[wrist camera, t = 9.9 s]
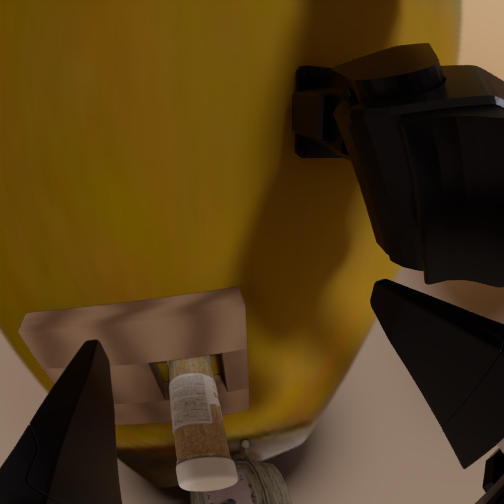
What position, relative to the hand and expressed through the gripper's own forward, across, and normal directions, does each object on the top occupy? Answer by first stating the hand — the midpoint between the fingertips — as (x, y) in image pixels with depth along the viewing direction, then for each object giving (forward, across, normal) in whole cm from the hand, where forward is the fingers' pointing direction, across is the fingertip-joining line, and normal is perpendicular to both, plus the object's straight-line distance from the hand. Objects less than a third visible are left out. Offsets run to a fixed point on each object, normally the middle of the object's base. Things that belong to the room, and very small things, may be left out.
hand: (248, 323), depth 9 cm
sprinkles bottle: (+14, +3, +17) cm, 22 cm away
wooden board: (+14, +7, +17) cm, 23 cm away
